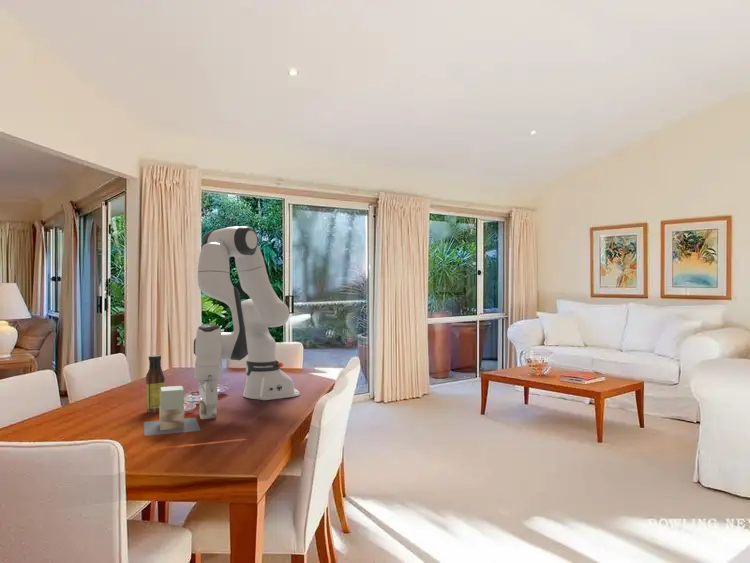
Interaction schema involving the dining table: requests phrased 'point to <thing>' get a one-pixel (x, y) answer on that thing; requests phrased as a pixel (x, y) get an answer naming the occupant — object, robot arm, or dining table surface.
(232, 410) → the dining table surface
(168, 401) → the sage block
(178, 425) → the birch block
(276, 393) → the robot arm
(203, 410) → the cream cube
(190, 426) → the slate mat
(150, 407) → the sauce bottle
